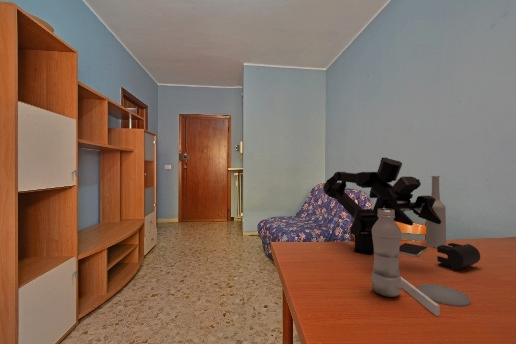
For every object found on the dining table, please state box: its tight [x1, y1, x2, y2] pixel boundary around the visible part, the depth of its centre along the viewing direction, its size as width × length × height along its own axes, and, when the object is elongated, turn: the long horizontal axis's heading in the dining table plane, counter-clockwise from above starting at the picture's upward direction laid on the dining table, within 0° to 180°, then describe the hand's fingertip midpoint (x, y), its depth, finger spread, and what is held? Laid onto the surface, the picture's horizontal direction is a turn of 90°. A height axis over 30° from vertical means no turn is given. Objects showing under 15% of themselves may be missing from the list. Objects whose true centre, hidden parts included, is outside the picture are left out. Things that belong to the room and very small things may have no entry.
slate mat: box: [416, 283, 472, 307], centre depth 58 cm, size 10×10×1 cm
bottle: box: [425, 175, 447, 249], centre depth 99 cm, size 7×7×28 cm
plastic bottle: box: [370, 208, 403, 298], centre depth 58 cm, size 6×7×20 cm
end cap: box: [436, 242, 481, 271], centre depth 76 cm, size 10×7×7 cm
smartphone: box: [399, 242, 428, 258], centre depth 93 cm, size 8×1×15 cm
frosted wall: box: [400, 275, 441, 317], centre depth 58 cm, size 18×1×2 cm, turn 178°
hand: (426, 223), depth 66 cm, fingers open, 9 cm apart
